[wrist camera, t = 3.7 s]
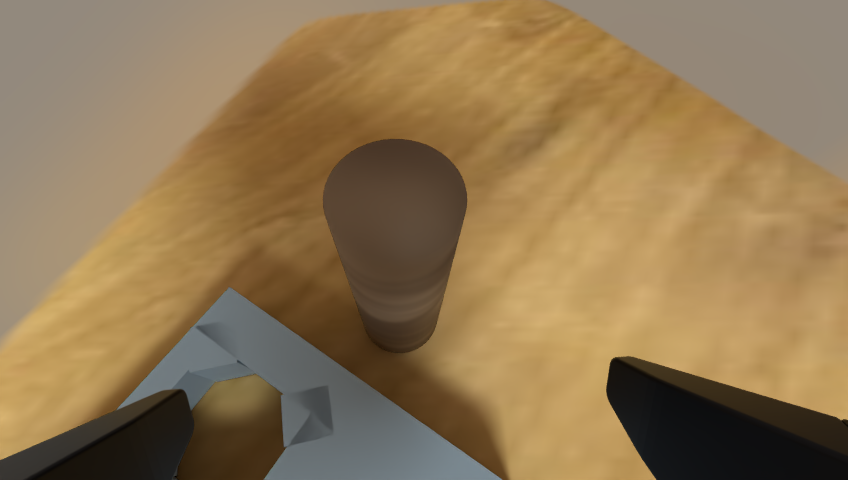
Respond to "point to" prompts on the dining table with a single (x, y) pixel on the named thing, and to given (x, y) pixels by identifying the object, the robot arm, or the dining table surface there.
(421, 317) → the peg
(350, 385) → the plate
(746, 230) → the dining table surface
